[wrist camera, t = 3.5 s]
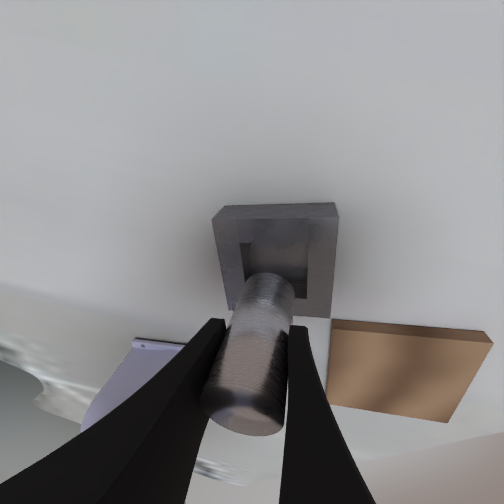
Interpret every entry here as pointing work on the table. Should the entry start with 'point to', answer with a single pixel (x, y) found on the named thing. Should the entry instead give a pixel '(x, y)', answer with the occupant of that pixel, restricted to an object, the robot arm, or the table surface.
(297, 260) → the chuck block
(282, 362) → the silver metal cylinder
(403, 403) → the pad
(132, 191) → the table surface
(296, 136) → the table surface
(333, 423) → the robot arm
